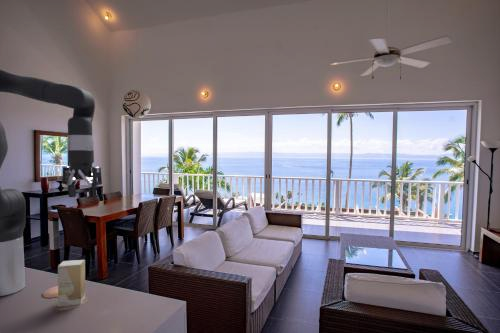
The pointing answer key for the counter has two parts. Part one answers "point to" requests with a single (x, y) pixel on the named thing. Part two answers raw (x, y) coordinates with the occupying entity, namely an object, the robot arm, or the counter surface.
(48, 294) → the peach glossy dome
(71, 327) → the counter surface
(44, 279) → the counter surface
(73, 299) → the skincare box
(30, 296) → the counter surface
